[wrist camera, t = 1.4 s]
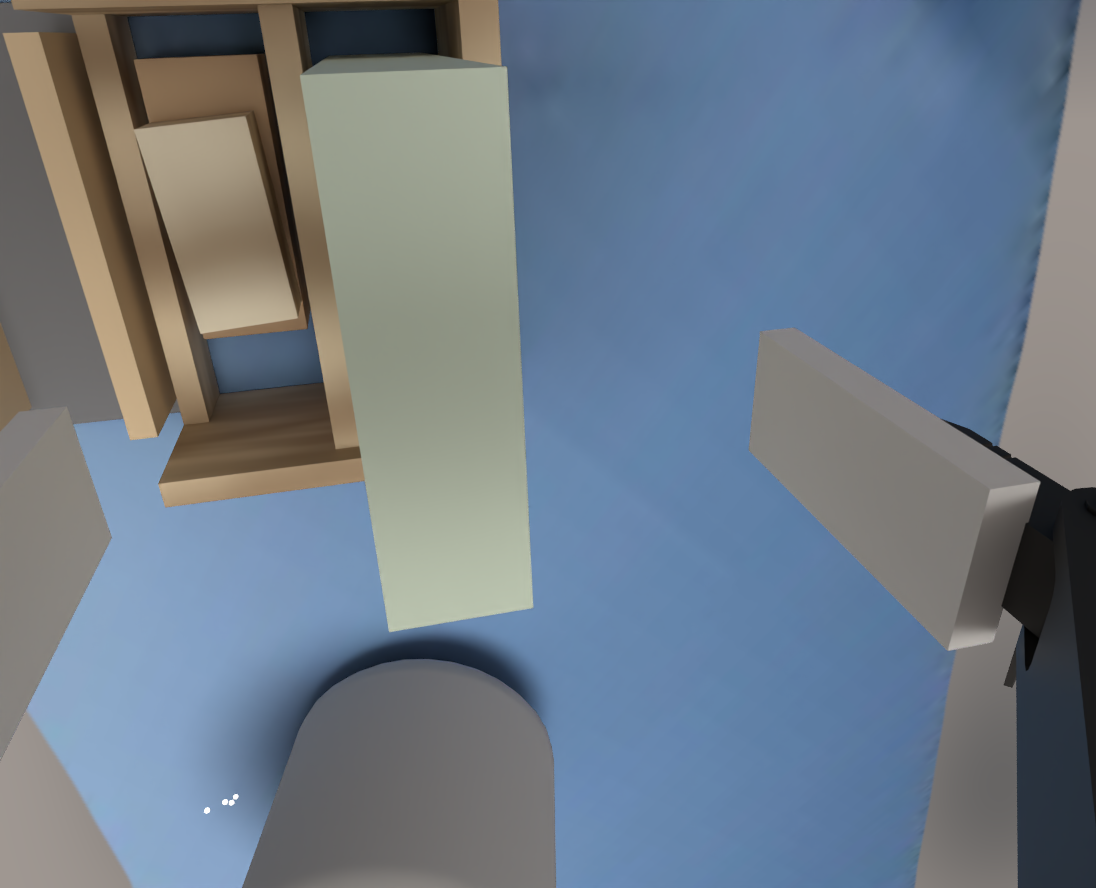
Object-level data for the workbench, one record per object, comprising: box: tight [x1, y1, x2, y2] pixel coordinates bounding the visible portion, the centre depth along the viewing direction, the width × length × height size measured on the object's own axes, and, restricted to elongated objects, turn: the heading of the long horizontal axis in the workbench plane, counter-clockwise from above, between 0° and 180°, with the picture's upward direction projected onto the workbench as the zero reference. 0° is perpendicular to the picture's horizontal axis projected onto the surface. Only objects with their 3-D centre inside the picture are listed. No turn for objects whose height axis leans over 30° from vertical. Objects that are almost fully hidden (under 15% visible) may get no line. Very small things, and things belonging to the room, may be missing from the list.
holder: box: [0, 3, 180, 440], centre depth 29 cm, size 16×7×5 cm, turn 2°
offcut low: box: [133, 53, 311, 339], centre depth 31 cm, size 10×4×4 cm, turn 2°
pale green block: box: [300, 52, 533, 632], centre depth 25 cm, size 12×4×20 cm, turn 2°
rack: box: [11, 0, 501, 507], centre depth 29 cm, size 17×13×8 cm
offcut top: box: [134, 110, 302, 334], centre depth 28 cm, size 7×4×2 cm, turn 6°
